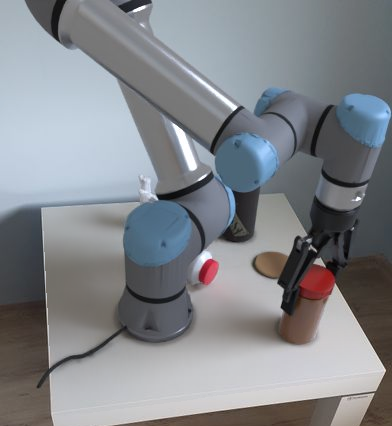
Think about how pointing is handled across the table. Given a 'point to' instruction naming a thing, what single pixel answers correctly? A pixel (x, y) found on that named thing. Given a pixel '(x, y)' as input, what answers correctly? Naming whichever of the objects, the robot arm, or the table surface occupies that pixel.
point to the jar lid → (317, 283)
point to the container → (243, 216)
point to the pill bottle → (202, 269)
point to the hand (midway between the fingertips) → (306, 301)
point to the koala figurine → (146, 190)
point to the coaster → (271, 264)
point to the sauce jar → (302, 320)
